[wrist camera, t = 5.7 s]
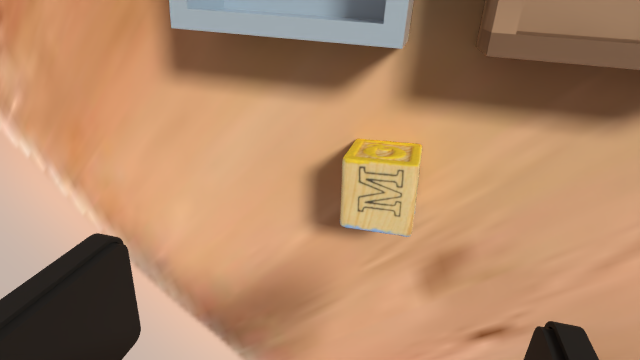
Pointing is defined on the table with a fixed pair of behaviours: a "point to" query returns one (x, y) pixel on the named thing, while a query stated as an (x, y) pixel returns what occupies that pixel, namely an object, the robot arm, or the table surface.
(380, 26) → the slate box
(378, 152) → the alphabet block
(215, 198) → the table surface
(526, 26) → the walnut box
